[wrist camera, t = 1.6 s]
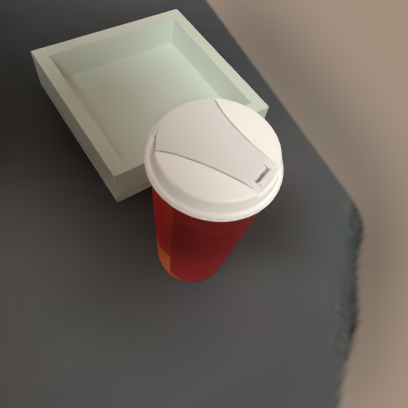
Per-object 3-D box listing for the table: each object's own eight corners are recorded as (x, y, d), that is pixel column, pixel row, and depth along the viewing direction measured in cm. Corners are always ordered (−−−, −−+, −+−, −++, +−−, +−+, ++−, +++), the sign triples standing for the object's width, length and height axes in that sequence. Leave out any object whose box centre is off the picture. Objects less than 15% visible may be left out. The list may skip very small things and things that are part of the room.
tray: (40, 84, 39) (30, 51, 35) (174, 40, 45) (176, 9, 41) (117, 202, 33) (114, 176, 30) (257, 134, 39) (268, 106, 36)
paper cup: (253, 245, 33) (316, 141, 21) (199, 315, 29) (237, 239, 17) (182, 193, 34) (202, 69, 22) (123, 254, 31) (109, 145, 19)
